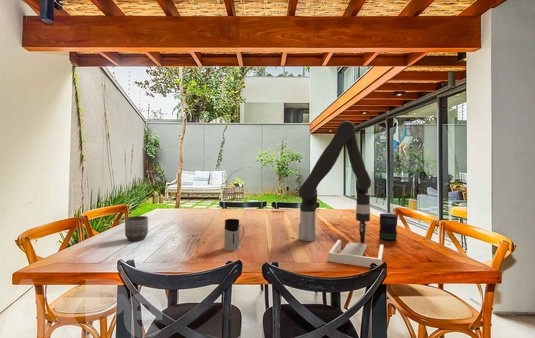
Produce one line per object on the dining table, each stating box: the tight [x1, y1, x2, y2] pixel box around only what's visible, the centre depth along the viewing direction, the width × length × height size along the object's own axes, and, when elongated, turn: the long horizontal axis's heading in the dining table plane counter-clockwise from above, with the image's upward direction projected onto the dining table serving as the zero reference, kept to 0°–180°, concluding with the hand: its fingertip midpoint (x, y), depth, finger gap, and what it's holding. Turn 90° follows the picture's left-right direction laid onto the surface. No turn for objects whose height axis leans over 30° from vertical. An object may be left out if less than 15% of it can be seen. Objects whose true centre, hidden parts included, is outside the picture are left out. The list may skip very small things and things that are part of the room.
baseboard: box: [340, 240, 368, 256], centre depth 153 cm, size 31×3×12 cm
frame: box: [327, 239, 384, 268], centre depth 145 cm, size 23×26×4 cm
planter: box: [124, 215, 149, 242], centre depth 172 cm, size 12×12×13 cm
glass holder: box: [223, 218, 245, 252], centre depth 155 cm, size 9×14×15 cm, turn 45°
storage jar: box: [378, 213, 398, 243], centre depth 178 cm, size 10×10×15 cm
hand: (362, 242), depth 167 cm, fingers closed
